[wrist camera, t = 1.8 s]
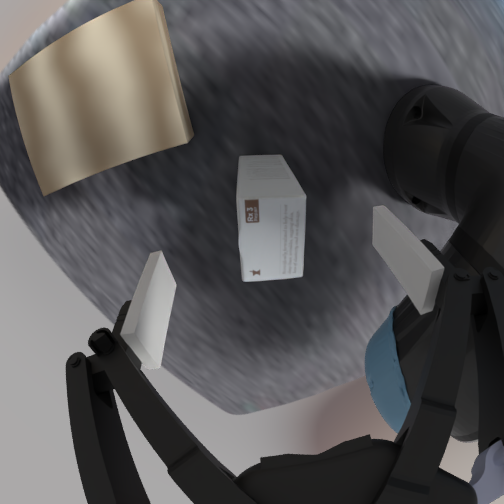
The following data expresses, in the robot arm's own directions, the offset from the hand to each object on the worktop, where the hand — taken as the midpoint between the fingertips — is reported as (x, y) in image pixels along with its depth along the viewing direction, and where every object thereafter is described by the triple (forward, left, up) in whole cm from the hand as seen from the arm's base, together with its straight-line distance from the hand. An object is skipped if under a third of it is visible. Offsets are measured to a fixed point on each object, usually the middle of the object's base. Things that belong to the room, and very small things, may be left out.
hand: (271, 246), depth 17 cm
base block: (+13, -13, -13) cm, 22 cm away
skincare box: (0, 0, -13) cm, 13 cm away
